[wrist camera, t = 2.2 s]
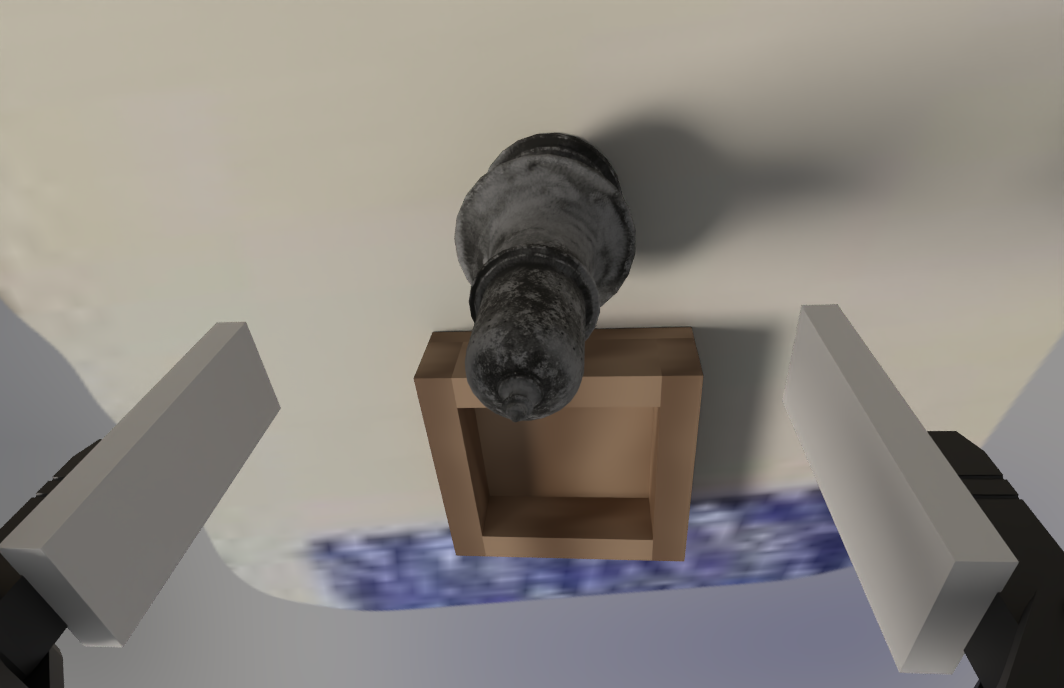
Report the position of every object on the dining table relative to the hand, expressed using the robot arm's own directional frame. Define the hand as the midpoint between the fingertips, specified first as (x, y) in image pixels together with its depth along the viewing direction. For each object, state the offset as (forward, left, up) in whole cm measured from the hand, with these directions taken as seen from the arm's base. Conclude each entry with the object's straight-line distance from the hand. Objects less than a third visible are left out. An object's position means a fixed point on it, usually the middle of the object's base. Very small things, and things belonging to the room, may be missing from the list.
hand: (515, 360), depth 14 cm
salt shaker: (0, 0, -10) cm, 10 cm away
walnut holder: (0, +11, -10) cm, 14 cm away
